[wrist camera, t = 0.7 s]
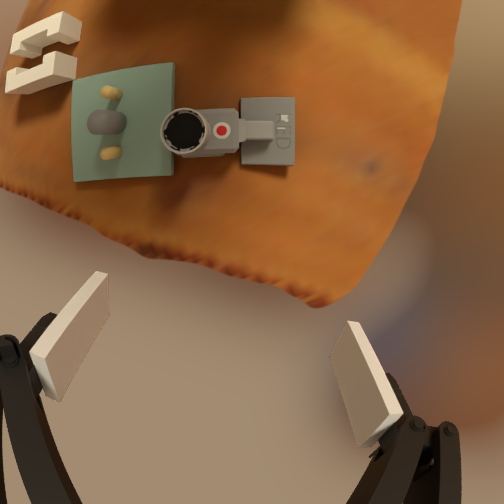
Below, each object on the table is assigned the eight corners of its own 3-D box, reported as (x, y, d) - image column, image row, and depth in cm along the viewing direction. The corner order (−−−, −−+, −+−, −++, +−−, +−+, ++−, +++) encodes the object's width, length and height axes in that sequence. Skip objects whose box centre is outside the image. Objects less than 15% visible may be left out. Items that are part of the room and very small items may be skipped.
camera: (147, 88, 22) (314, 84, 22) (174, 102, 33) (291, 99, 33) (150, 180, 25) (313, 176, 26) (176, 166, 36) (291, 164, 37)
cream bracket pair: (28, 94, 30) (5, 93, 24) (35, 40, 26) (13, 34, 20) (75, 79, 30) (52, 74, 24) (82, 22, 26) (62, 11, 20)
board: (78, 81, 30) (51, 75, 24) (175, 64, 31) (161, 50, 24) (78, 180, 36) (52, 190, 29) (174, 173, 36) (159, 182, 30)
